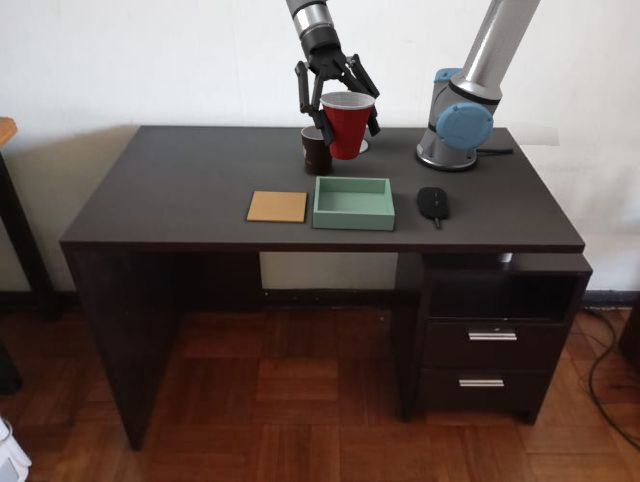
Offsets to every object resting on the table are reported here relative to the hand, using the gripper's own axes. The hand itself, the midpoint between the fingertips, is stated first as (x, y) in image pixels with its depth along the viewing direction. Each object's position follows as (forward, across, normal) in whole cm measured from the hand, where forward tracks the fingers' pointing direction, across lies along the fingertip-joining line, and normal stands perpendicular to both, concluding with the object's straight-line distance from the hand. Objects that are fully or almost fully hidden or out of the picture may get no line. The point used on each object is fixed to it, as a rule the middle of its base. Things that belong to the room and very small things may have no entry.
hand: (353, 138), depth 99 cm
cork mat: (+6, +12, -20) cm, 24 cm away
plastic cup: (+1, 0, -6) cm, 6 cm away
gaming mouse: (+17, -18, -8) cm, 26 cm away
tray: (+11, -2, -14) cm, 18 cm away
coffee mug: (-4, -5, -29) cm, 30 cm away
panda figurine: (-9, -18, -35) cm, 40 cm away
